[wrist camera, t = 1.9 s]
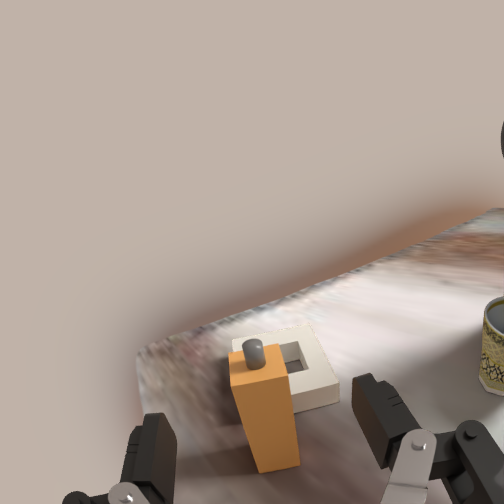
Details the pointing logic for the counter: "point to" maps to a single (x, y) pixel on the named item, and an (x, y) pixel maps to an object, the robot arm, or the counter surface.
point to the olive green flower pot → (493, 348)
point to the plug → (265, 404)
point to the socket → (313, 361)
